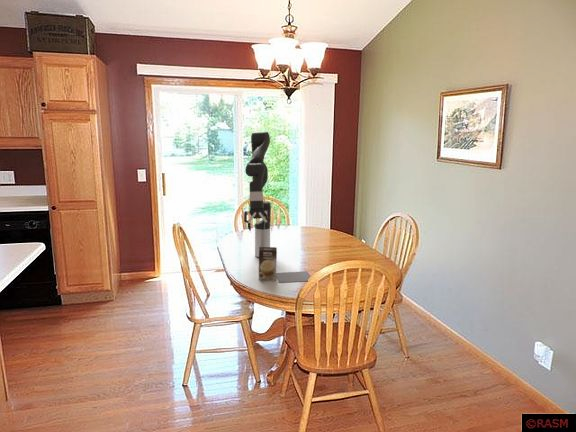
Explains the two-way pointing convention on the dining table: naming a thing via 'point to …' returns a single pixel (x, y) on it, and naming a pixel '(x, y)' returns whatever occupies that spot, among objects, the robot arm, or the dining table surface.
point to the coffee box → (267, 263)
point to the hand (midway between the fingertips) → (257, 229)
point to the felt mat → (292, 276)
